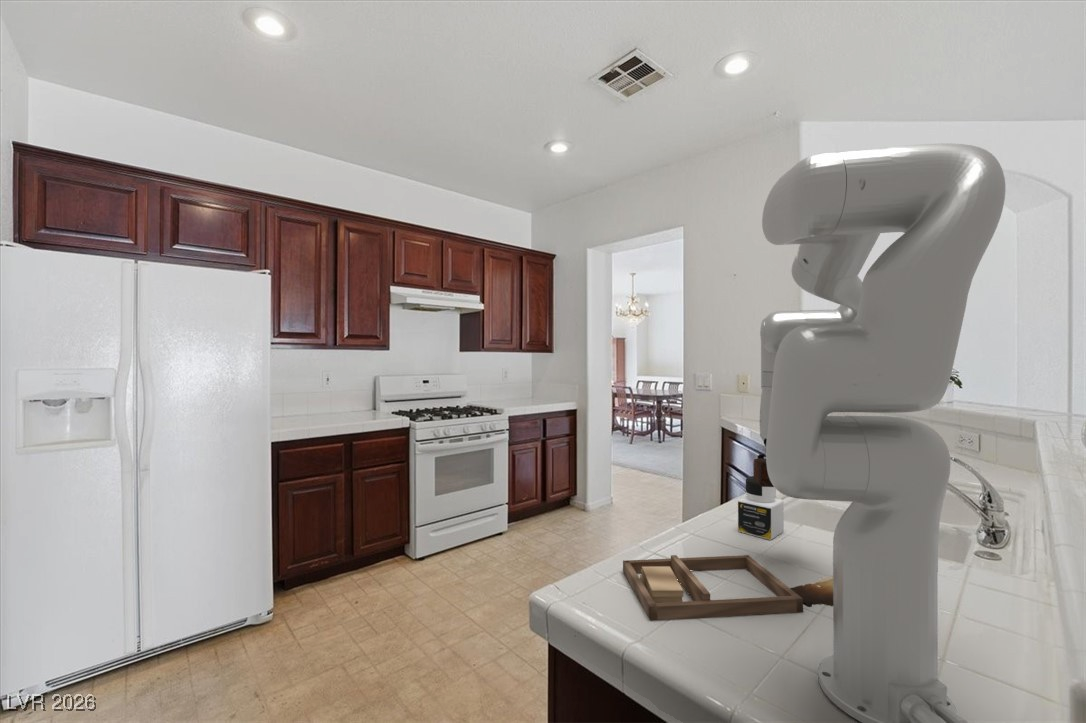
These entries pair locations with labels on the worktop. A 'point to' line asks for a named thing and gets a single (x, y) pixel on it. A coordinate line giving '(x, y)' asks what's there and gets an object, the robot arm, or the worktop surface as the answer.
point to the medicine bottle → (760, 511)
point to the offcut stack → (661, 584)
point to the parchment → (816, 592)
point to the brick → (761, 473)
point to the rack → (701, 596)
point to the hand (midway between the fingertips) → (783, 477)
